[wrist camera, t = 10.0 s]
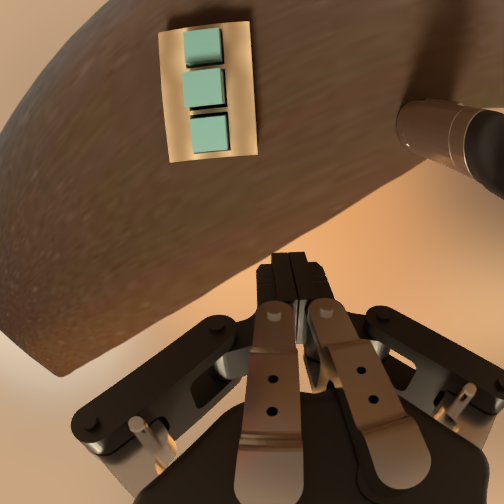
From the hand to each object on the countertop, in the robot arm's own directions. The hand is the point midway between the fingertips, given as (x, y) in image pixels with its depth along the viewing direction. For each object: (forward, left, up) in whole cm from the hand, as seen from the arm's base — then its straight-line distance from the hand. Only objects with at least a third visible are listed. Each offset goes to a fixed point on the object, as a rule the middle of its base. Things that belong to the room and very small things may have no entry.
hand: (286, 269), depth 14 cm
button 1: (-5, -16, -32) cm, 36 cm away
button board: (-2, -12, -32) cm, 34 cm away
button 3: (+2, -7, -32) cm, 33 cm away
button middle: (-2, -12, -29) cm, 32 cm away
